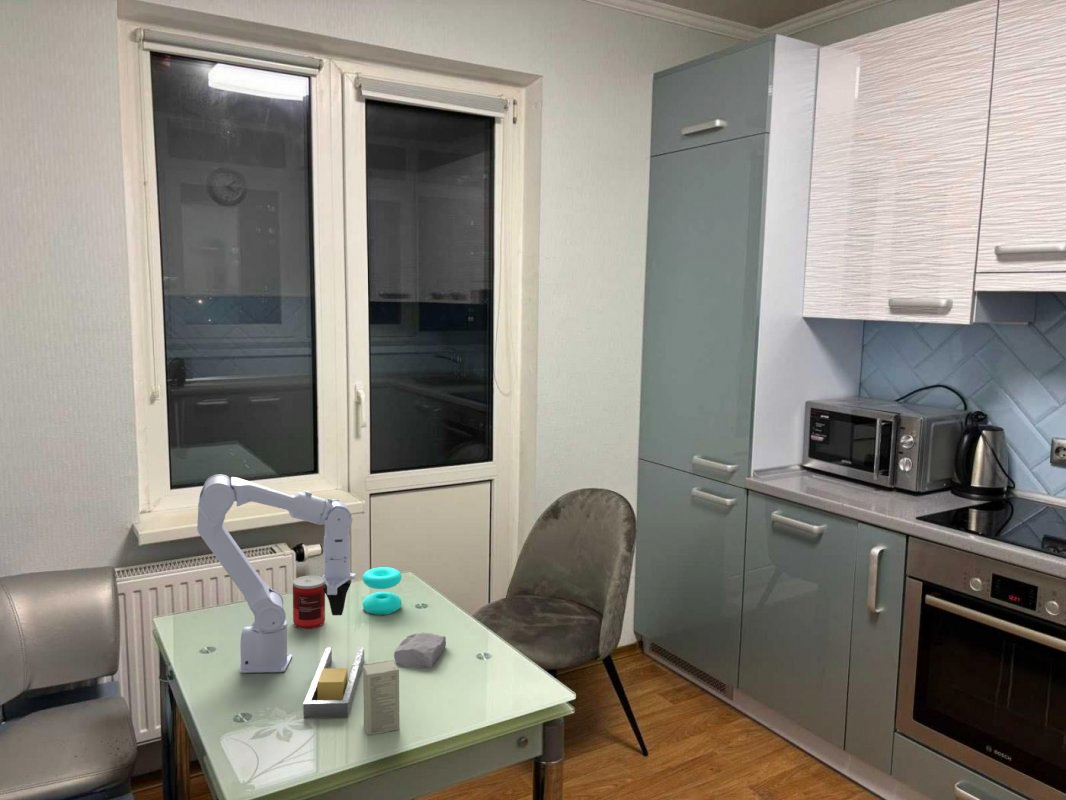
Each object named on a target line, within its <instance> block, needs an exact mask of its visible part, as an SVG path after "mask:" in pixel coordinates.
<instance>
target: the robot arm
mask: <svg viewBox="0 0 1066 800" xmlns="http://www.w3.org/2000/svg"><path fill="white" fill-rule="evenodd" d="M235 502H236V507H240V506H243V505H245V504H248V503H255V504H256V503H257V504H260V505H265V506H269V507H274V508H278V509H283V510H286V511H287V512H288V513H289V515H290V517H291V518H293V519H297V520H299V521H303V522H308V523H312V524H315V525H318V526H319V525H320V526H321V525H324V536H323V574H322V578H323V580H324V581H325V584H324V586H323V590H324V592H325V596H326V597H327V600H328V603H329V606H330V611H331V614H332V616H343V613H344V609H345V604H346V598H347V593H348V591H349V589H350V587H351V584H352V580H354V579H356V577H357V574H356V573H354V572H353V573H352V572H351V535H350V532H351V529H350V528H351V525H352V523H353V517H352V514H351V511H350V510H349V508H348V506H347V505H346V503H344V502H343V501H341V500H339V499H333V498H331V497H328V498H327V499H326V498H323V497H320V496H316V495H313V493H312V491H310V490H305V492H302V491H299V492H296V493H294V494H289V493H286V492H282V491H279V490H277V489H273V488H271V487H267V486H265V485H262V484H260V483H256V482H253V481H249V480H246V479H243V478H240V477H236V476H231V477H229V476H228V475H226V474H220V473H219V474H214V475H212V476H209V477H208V478H207V479H206V480H205V482H204V484H203V486H202V489H201V491H200V492H199V499H198V505H197V511H198V512H197V527H196V530H197V533H198V534H199V536H200V537H201V539H202V540H203V542H204V543H205V544H206V546H207V547H208V548H209V550H210V551H211V553H212V554H213V555H214V556H215V558H216V559H217V561H218V562H219V563H220V565H221V566H222V568H223V569H224V571H225V572H226V573H227V574H228V576H229V578H230V579H231V580H232V581H233V582H234V584H235V586H236V587H237V588H238V589H239V591H240V592H241V594H242V595H243V597H244V598H245V601H246V602H247V605H248V607H249V609H250V611H251V613H252V614H253V616H254V622H252V625H246V626H245V625H244V627H243V628H242V632H241V635H240V642H239V643H240V644H239V645H240V670H239V672H240V673H243V674H247V673H248V674H249V673H284V672H286V670H287V668H288V667H289V664H290V662H291V660H292V658H293V654H292V653H291V654H290V653H288V627H287V626H288V621H287V620H286V611H285V607H284V599H283V596H282V595H281V593H280V592H278V591H277V590H274V589H272V588H271V587H270V586H269V584H268V583H267V582H266V581H264V580H263V579H262V577H261V576H260V574H259V573H258V572H257V570H256V569H255V567H254V565H252V563H251V562H250V560H249V559H248V558H247V556H246V554H244V552H243V551H242V549H241V548H240V546H239V545H238V543H237V542H236V541H235V539H234V538H233V536H232V535H231V533H230V532H229V531H228V529H227V528H226V527H225V525H224V522H225V519H226V515H227V513H229V511H230V509H231V508H232V507H233V505H234V504H235Z"/></svg>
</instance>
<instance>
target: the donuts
mask: <svg viewBox="0 0 1066 800" xmlns="http://www.w3.org/2000/svg"><path fill="white" fill-rule="evenodd" d="M401 581H402V574H401V572H400V571H399V570H398V569H396V568H393V567H390V566H389V567H386V566H380V567H374V568H370V569H368V570H366V571H365V572H364V573H363V575H362V583H364V585H365V586H367V587H368V588H371V589H375V590H387V589H390V588H393V587H396V586H397V585H398V584H400V582H401ZM401 599H402V598H400V596H399V595H397V594H396V593H393V592H392V591H391V592H389V591H377V592H373V593H371V594H369V595H366V597H365V598H364V599H363V601H362V608H363V610H364V611H365V612H367V613H370V614H372V615H389V614H392V613H395V612H396V611H398V610H399V609H401V606H402V600H401Z"/></svg>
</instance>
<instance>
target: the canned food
mask: <svg viewBox="0 0 1066 800" xmlns="http://www.w3.org/2000/svg"><path fill="white" fill-rule="evenodd" d="M324 584H325V581H324V580H323V576H319V575H314V574H313V575H303V576H299V577H297V578H294V579H293V581H292V618H293V619H292V621H293V624H294V626H295V627H296V628H299V629H302V628H303V629H304V630H309V629H310V630H311V629H316V628H319V627H321V626H323V625H324V623H325V621H326V620H325V619H326V594H325V592H324V590H323V586H324Z"/></svg>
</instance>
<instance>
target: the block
mask: <svg viewBox="0 0 1066 800" xmlns="http://www.w3.org/2000/svg"><path fill="white" fill-rule="evenodd" d="M347 684H348V667H343V668H342V667H341V668H340V667H339V668H333V667H331V668H330V667H329V668H325V669H322V672H321V674H320V677H319V679H318V682H317V694H318V698H317V701H321V700H343V696H344V693H345V690H346V687H347Z"/></svg>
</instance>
